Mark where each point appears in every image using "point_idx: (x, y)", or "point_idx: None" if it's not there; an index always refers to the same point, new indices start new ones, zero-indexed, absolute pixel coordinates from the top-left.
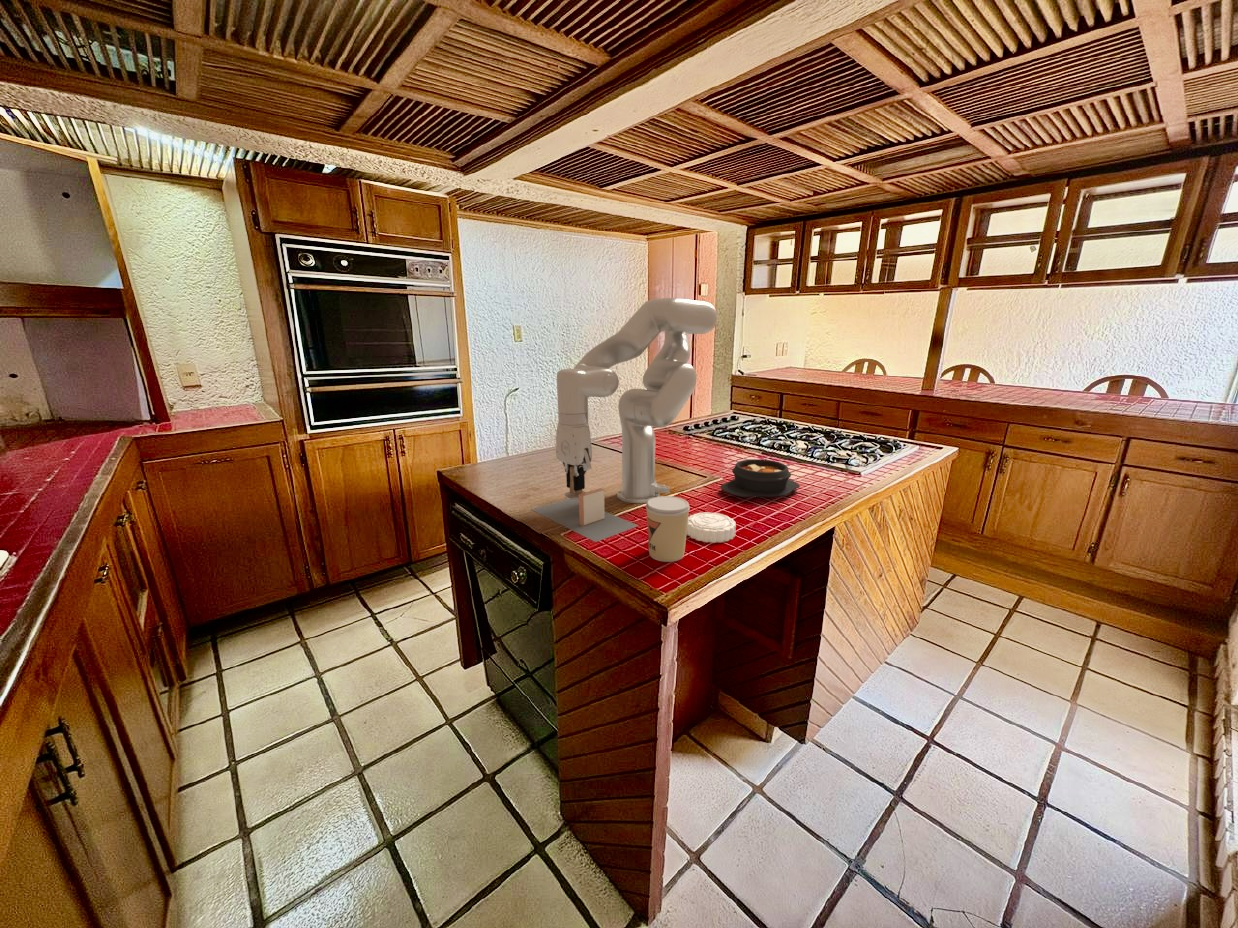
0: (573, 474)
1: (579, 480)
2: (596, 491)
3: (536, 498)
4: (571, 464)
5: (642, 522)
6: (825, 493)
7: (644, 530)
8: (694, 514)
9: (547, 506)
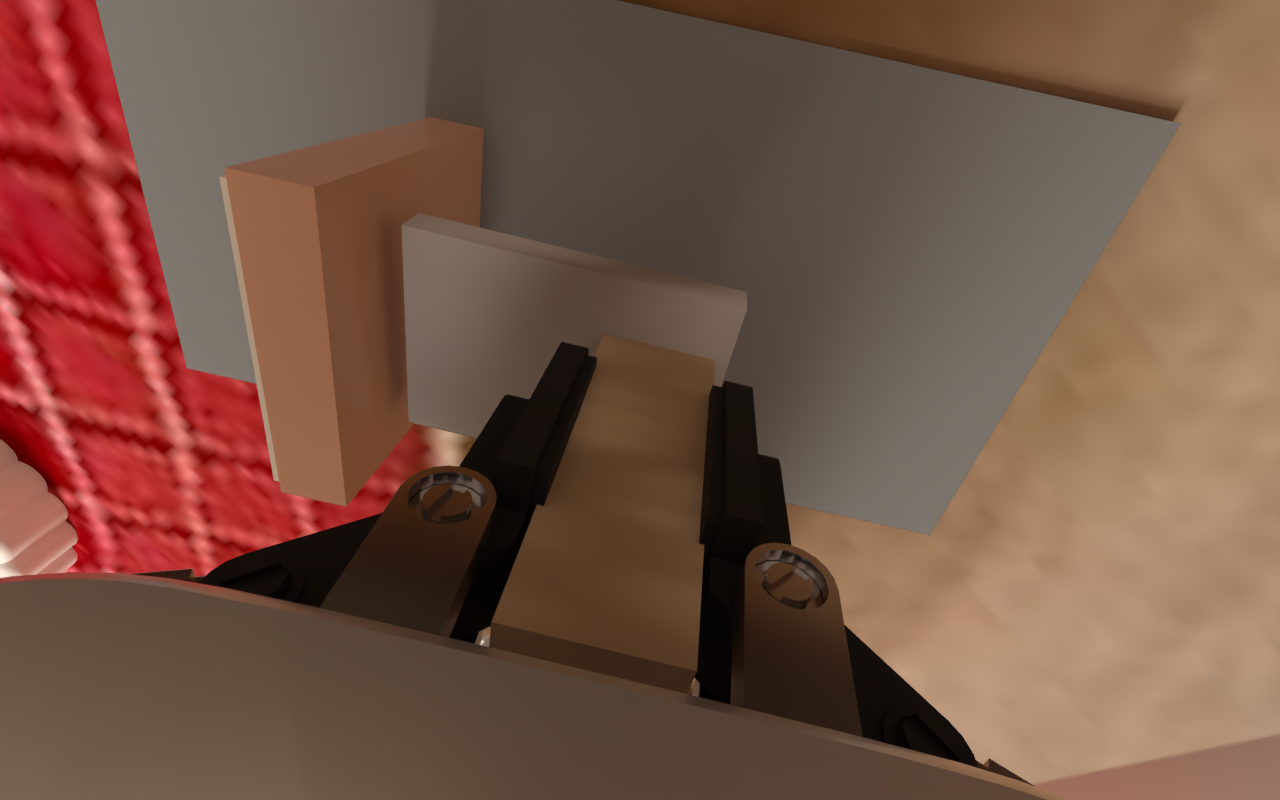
0: (590, 525)
1: (471, 457)
2: (276, 406)
3: (1271, 399)
4: (265, 605)
5: (242, 429)
6: None
7: (125, 336)
8: (2, 572)
9: (1033, 288)
